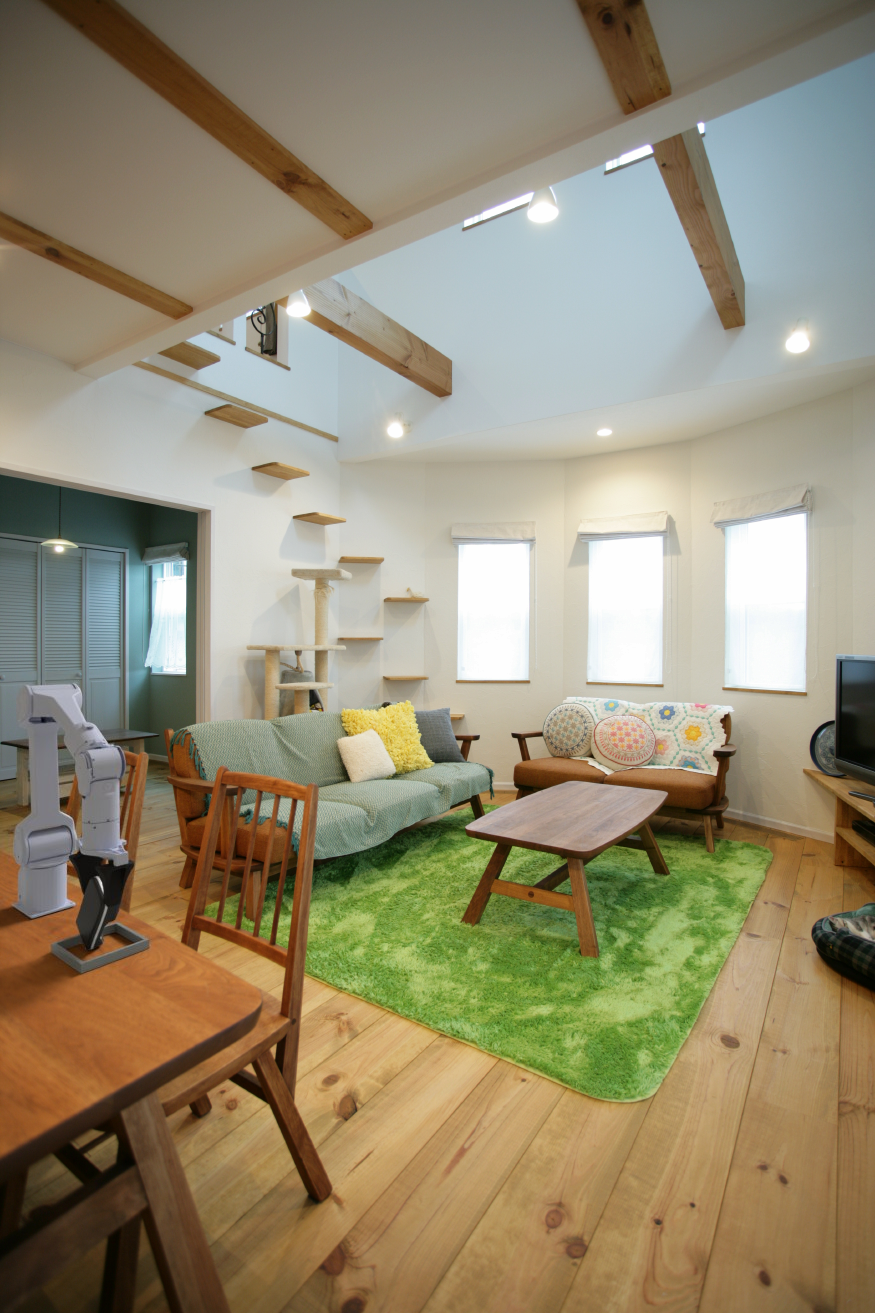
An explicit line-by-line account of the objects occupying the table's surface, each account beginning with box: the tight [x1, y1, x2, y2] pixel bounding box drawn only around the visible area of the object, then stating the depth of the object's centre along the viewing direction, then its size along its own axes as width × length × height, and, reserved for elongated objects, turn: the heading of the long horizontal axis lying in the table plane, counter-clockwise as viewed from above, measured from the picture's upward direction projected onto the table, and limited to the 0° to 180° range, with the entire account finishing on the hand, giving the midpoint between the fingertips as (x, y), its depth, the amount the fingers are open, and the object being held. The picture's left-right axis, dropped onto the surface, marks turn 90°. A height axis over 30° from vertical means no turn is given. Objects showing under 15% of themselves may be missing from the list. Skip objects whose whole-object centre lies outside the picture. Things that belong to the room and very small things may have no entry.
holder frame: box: [50, 921, 150, 975], centre depth 111 cm, size 11×11×2 cm
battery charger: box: [75, 876, 122, 951], centre depth 112 cm, size 7×4×11 cm
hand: (101, 899), depth 111 cm, fingers open, 7 cm apart
